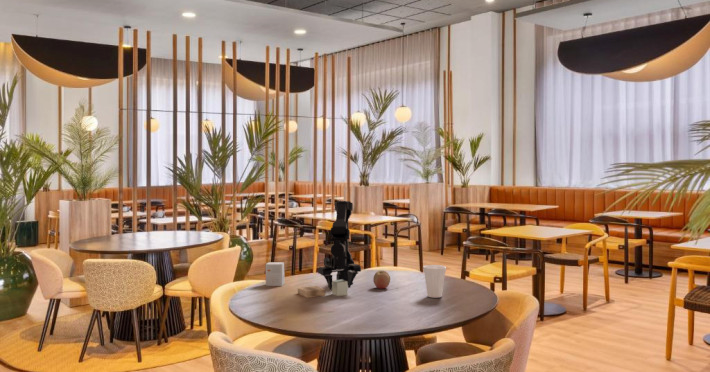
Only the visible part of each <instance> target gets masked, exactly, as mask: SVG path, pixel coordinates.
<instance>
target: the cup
mask: <svg viewBox="0 0 710 372" xmlns="http://www.w3.org/2000/svg"><path fill="white" fill-rule="evenodd" d="M422 270H423V273H424V279H425V286H426V294H427V295H426V296H427V297H429V298H433V299H434V298H435V299H437V298H441V297H443V290H444V283H445V276H446V272H447V266H445V265H441V264H426V265H423V266H422Z"/></svg>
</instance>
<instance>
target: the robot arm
mask: <svg viewBox="0 0 710 372" xmlns="http://www.w3.org/2000/svg"><path fill="white" fill-rule="evenodd" d="M334 211H335V212H336V218H335V220H334V222H333V223H332V225H331V226H332V227H330V233H329V235H330V236H329V242H332V243H333V244H332V245H331V247H330V253H331V258H329V257H325V258H323V266H319V268H318V269H317V273H318V275H321V276H322V277H324V279H325V282H326V284H327V286H328V289H329V291H332V281H333V274H332V273H336V272H337V273H336V274H335V275H336V279H335V280H345V281H347V282H348V289H350V288H351V286H352V285H353V284H354V281H355V278H356V276H357V275H358V274H359V272H362V266H361V265H360V264H357V263H355V261H354V259H353V257H352V253H351V252H350V250H349V240H350V233H351V230H350V229H349V219H350V217H351V216H352V214H353V213H352V212H353V211H354V204H353V202H351V201H350V200H338V201H335V202H334Z"/></svg>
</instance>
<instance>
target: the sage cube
mask: <svg viewBox="0 0 710 372" xmlns="http://www.w3.org/2000/svg"><path fill="white" fill-rule="evenodd" d="M348 289H349V288H348V282H347V281H345V280H336V279H335V280H334V279H332V289H331V295H333V296H336V297H341V296H347V295H348Z"/></svg>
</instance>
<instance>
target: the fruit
mask: <svg viewBox="0 0 710 372" xmlns="http://www.w3.org/2000/svg"><path fill="white" fill-rule="evenodd" d="M372 281H373V284H374V286H375V288H377V289H379V290H382V289H386V288H388V287H389V285H390V282H391V275H390V274H389V272H387V271H386V270H377V271H376V272H375V273H374V275H373V279H372Z"/></svg>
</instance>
